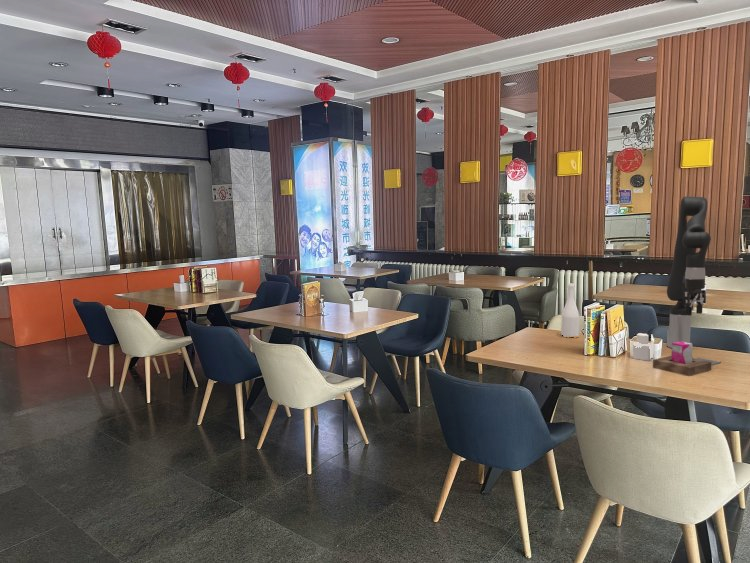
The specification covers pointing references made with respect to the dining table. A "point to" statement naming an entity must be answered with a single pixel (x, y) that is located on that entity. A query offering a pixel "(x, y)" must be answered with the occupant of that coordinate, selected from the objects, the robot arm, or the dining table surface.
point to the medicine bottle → (644, 351)
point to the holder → (682, 366)
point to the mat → (709, 361)
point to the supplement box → (682, 352)
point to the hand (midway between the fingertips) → (694, 314)
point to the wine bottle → (570, 315)
